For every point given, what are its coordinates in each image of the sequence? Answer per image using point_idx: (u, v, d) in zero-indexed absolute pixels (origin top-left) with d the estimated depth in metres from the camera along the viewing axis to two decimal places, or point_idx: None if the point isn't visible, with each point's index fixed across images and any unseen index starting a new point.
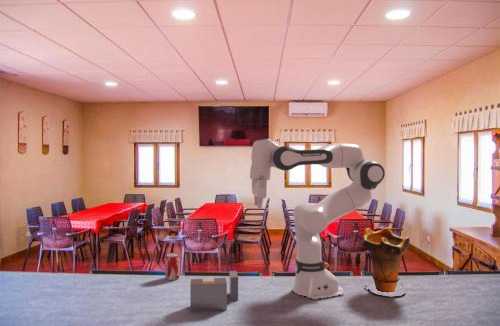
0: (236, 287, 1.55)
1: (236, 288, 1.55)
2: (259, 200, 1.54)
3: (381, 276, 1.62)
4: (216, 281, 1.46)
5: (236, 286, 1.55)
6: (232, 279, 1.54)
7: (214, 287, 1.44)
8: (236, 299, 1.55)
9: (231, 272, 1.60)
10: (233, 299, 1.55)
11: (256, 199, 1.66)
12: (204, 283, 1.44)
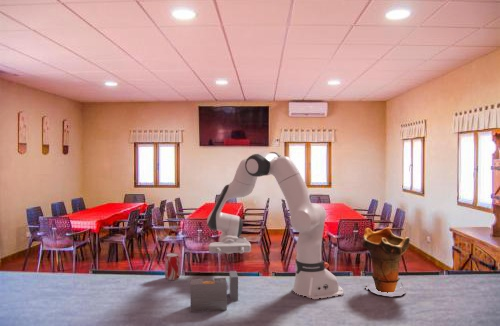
0: (236, 287, 1.55)
1: (236, 288, 1.55)
2: (216, 251, 1.73)
3: (381, 276, 1.62)
4: (216, 281, 1.46)
5: (236, 286, 1.55)
6: (232, 279, 1.54)
7: (214, 287, 1.44)
8: (236, 299, 1.55)
9: (231, 272, 1.60)
10: (233, 299, 1.55)
11: None
12: (204, 283, 1.44)
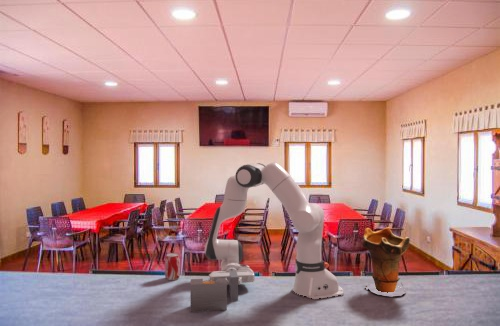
0: (236, 287, 1.55)
1: (236, 288, 1.55)
2: None
3: (381, 276, 1.62)
4: (216, 281, 1.46)
5: (236, 286, 1.55)
6: (232, 279, 1.54)
7: (214, 287, 1.44)
8: (236, 299, 1.55)
9: (231, 272, 1.60)
10: (233, 299, 1.55)
11: None
12: (204, 283, 1.44)
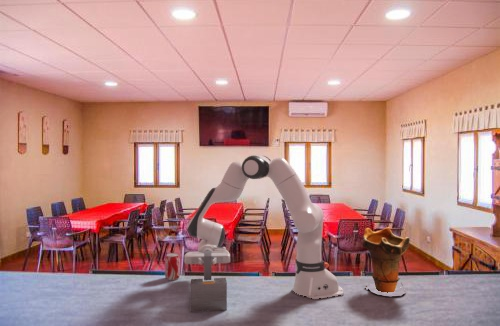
0: (209, 266, 1.52)
1: (209, 267, 1.52)
2: (198, 261, 1.60)
3: (381, 276, 1.62)
4: (216, 281, 1.46)
5: (209, 265, 1.52)
6: (205, 258, 1.52)
7: (214, 287, 1.44)
8: (209, 279, 1.52)
9: (205, 252, 1.58)
10: (206, 278, 1.52)
11: None
12: (204, 283, 1.44)
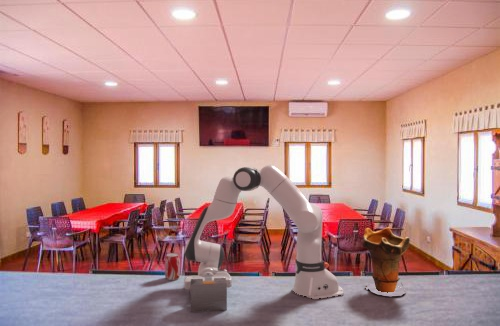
0: None
1: None
2: None
3: (381, 276, 1.62)
4: (216, 281, 1.46)
5: None
6: None
7: (214, 287, 1.44)
8: None
9: (206, 278, 1.52)
10: None
11: None
12: (204, 283, 1.44)
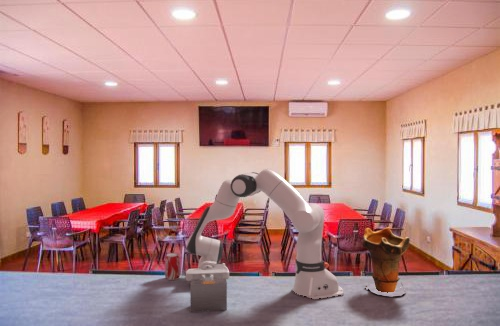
0: None
1: None
2: (202, 278, 1.67)
3: (381, 276, 1.62)
4: (216, 281, 1.46)
5: None
6: None
7: (214, 287, 1.44)
8: None
9: (206, 278, 1.52)
10: None
11: None
12: (204, 283, 1.44)
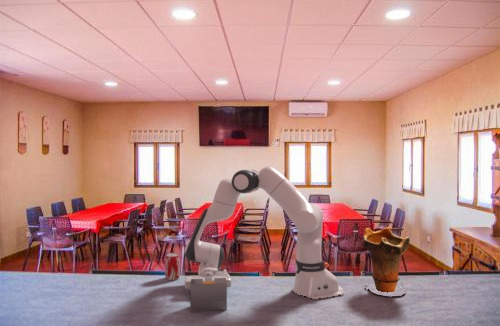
0: None
1: None
2: None
3: (381, 276, 1.62)
4: (216, 281, 1.46)
5: None
6: None
7: (214, 287, 1.44)
8: None
9: (206, 279, 1.52)
10: None
11: None
12: (204, 283, 1.44)
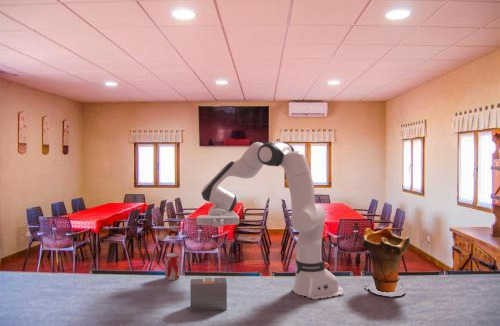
0: None
1: None
2: (212, 222, 1.71)
3: (381, 276, 1.62)
4: (216, 281, 1.46)
5: None
6: None
7: (214, 287, 1.44)
8: None
9: (206, 279, 1.52)
10: None
11: None
12: (204, 283, 1.44)
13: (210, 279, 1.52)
